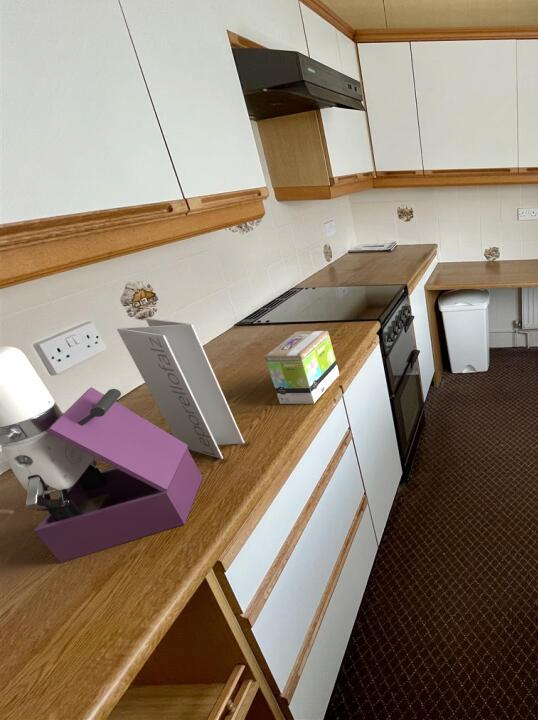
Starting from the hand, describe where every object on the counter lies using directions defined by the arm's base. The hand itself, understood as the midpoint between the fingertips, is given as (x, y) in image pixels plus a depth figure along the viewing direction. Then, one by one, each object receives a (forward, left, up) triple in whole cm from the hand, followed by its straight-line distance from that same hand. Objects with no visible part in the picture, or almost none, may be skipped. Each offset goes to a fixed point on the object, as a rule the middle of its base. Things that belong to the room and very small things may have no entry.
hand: (84, 503), depth 71 cm
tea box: (+35, +33, -6) cm, 48 cm away
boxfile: (+6, 0, -6) cm, 8 cm away
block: (0, 0, -5) cm, 5 cm away
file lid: (+10, 0, +10) cm, 14 cm away
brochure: (+14, +18, -6) cm, 23 cm away
